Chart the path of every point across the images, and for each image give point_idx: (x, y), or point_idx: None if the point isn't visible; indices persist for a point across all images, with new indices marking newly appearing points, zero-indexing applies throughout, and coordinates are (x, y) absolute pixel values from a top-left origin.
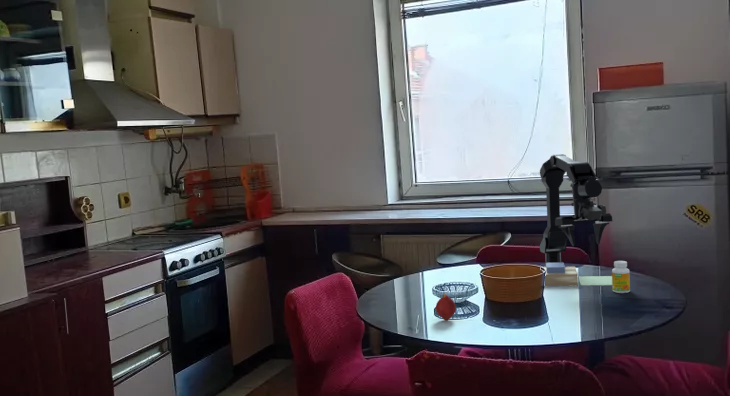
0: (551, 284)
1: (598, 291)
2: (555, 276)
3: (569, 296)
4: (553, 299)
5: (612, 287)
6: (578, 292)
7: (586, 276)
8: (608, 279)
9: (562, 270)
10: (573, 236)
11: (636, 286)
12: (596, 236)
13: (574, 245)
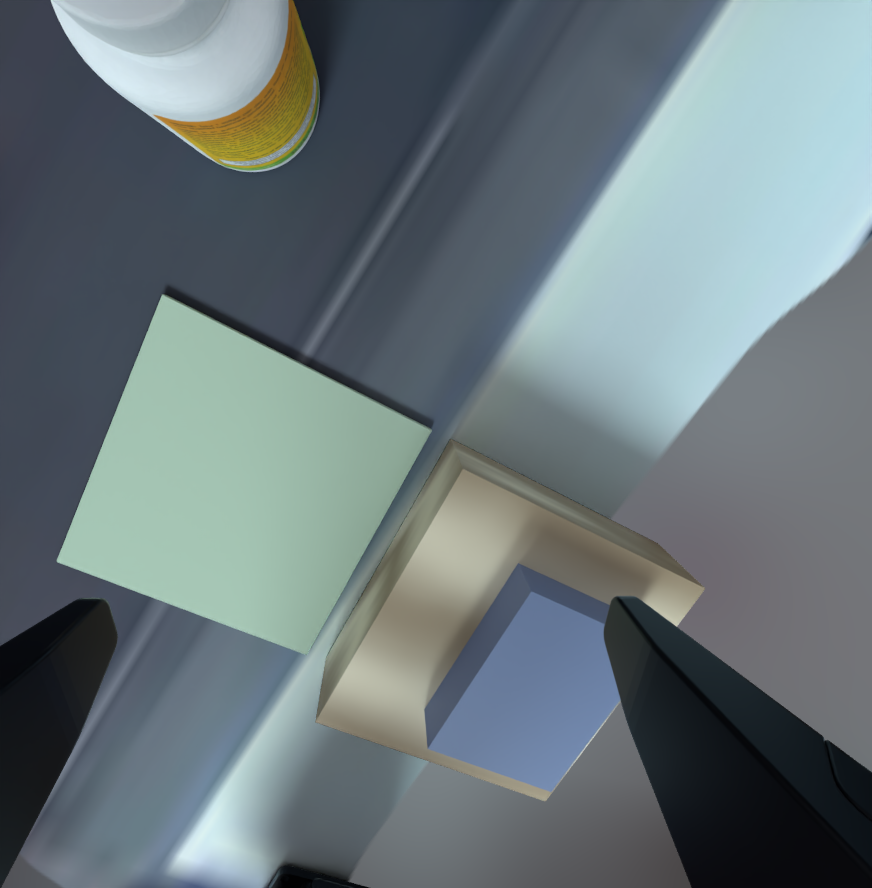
0: (609, 521)
1: (416, 199)
2: (609, 537)
3: (697, 174)
4: (845, 155)
5: (312, 115)
6: (565, 254)
7: (253, 633)
8: (148, 484)
9: (539, 582)
10: (770, 741)
11: (27, 183)
12: (15, 791)
13: (627, 599)
